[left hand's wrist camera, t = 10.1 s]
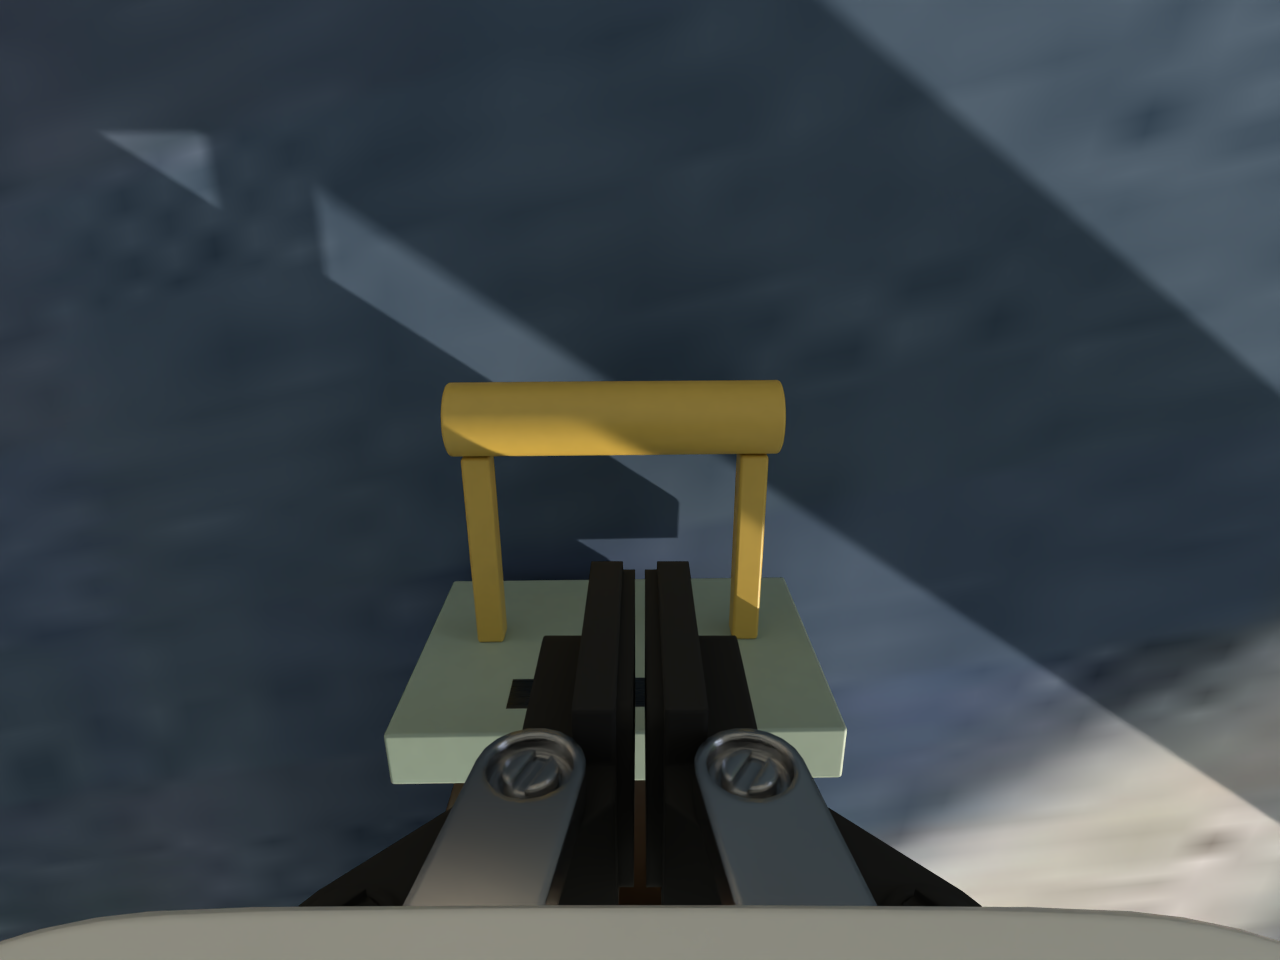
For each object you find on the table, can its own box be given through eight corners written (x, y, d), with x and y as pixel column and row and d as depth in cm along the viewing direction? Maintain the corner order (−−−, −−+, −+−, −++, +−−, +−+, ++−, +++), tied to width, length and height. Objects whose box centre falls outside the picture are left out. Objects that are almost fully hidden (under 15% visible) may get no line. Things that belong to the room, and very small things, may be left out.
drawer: (429, 357, 17) (333, 432, 12) (800, 354, 17) (884, 427, 12) (505, 1067, 27) (472, 1302, 21) (747, 1062, 27) (780, 1294, 21)
